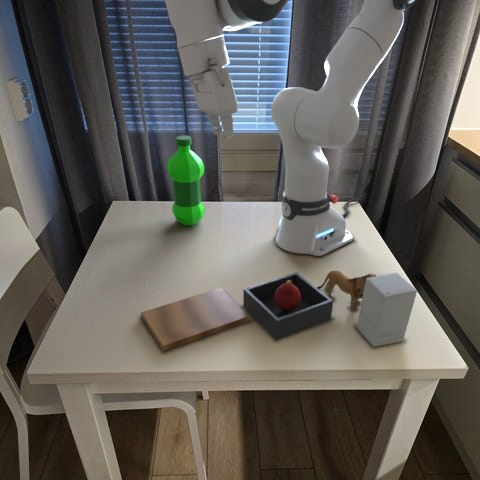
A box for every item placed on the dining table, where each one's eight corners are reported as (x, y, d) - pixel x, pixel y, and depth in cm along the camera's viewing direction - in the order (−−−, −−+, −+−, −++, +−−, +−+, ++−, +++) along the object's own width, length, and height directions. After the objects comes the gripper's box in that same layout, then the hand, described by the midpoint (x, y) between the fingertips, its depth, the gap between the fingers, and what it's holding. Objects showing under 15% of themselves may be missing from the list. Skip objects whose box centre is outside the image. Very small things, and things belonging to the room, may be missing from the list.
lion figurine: (377, 305, 104) (385, 272, 98) (368, 317, 100) (376, 283, 95) (320, 285, 110) (325, 253, 105) (310, 295, 107) (314, 262, 102)
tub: (294, 289, 109) (296, 271, 106) (330, 319, 100) (333, 300, 97) (243, 307, 103) (243, 288, 100) (275, 340, 94) (277, 321, 91)
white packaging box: (404, 341, 94) (419, 290, 86) (372, 347, 92) (384, 297, 84) (385, 320, 99) (397, 271, 92) (355, 326, 98) (365, 277, 90)
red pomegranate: (297, 320, 98) (300, 290, 94) (271, 317, 99) (273, 287, 94) (300, 305, 103) (303, 275, 98) (275, 302, 104) (277, 272, 99)
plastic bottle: (166, 220, 140) (157, 136, 124) (195, 212, 145) (190, 130, 129) (183, 232, 133) (176, 145, 118) (212, 222, 138) (209, 138, 123)
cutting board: (220, 292, 108) (220, 287, 107) (248, 321, 99) (248, 316, 98) (141, 317, 100) (140, 312, 99) (163, 351, 91) (163, 345, 90)
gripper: (234, 52, 76) (253, 136, 83) (209, 58, 94) (226, 127, 101) (199, 62, 75) (221, 146, 82) (180, 66, 93) (199, 135, 100)
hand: (223, 136), depth 92 cm, fingers open, 8 cm apart
